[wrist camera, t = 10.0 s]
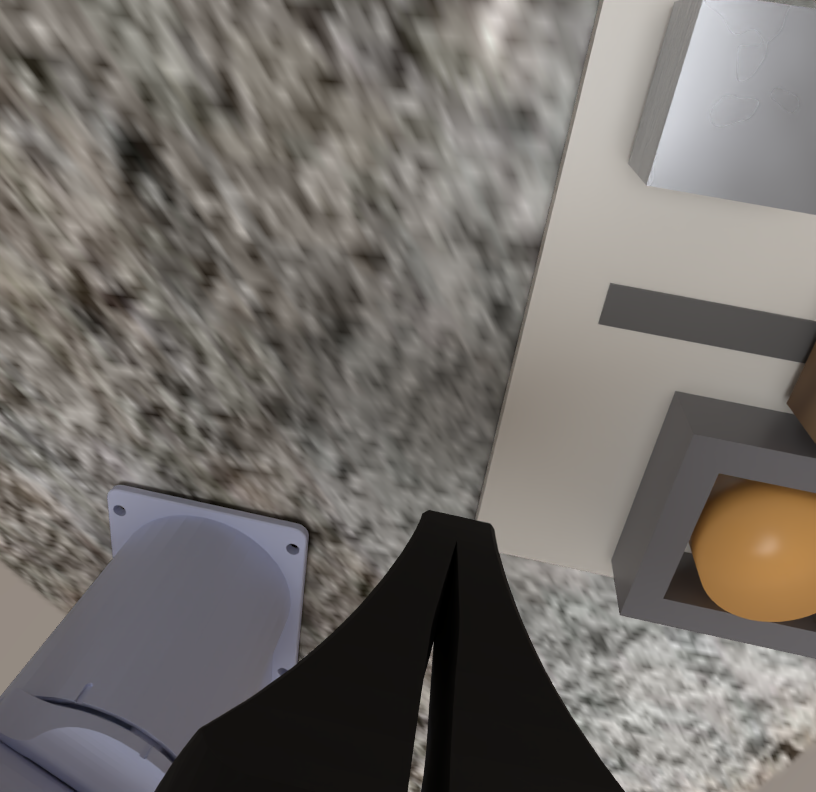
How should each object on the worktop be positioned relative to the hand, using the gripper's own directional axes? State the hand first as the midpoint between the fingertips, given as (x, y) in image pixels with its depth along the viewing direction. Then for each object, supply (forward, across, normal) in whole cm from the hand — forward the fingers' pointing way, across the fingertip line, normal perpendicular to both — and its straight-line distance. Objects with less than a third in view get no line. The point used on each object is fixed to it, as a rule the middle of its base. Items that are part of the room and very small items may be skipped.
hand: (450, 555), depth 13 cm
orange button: (+8, -9, +2) cm, 12 cm away
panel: (+9, -7, -2) cm, 12 cm away
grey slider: (+8, -4, -8) cm, 12 cm away
